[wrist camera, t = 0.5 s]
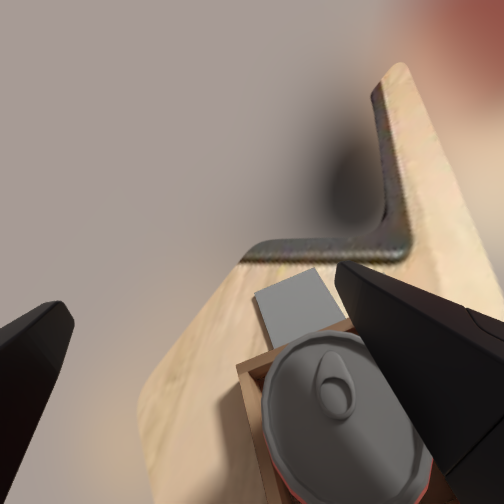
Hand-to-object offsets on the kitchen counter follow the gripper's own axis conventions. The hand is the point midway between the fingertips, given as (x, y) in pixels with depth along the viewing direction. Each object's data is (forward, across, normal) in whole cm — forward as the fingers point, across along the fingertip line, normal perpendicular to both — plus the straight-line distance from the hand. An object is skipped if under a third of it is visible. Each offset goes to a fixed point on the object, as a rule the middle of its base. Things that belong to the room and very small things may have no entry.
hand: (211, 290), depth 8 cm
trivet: (+10, -7, +12) cm, 17 cm away
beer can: (+1, -7, +15) cm, 17 cm away
